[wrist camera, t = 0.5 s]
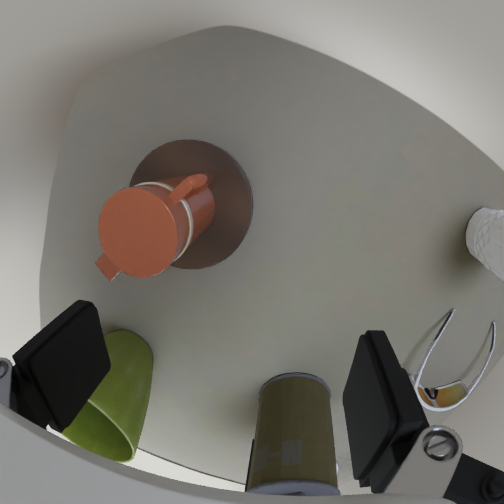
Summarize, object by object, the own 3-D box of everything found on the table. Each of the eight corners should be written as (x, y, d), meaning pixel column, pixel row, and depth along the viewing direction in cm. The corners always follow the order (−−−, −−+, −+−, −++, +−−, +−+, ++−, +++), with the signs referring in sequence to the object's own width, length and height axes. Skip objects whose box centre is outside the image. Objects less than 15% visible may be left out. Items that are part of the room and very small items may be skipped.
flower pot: (94, 366, 42) (46, 428, 27) (86, 293, 37) (14, 354, 22) (174, 397, 41) (139, 476, 26) (180, 325, 36) (128, 415, 21)
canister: (312, 361, 36) (320, 498, 17) (340, 404, 38) (353, 520, 19) (243, 387, 39) (216, 510, 20) (277, 425, 41) (267, 534, 22)
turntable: (165, 119, 28) (160, 117, 27) (278, 181, 29) (278, 182, 28) (117, 226, 33) (111, 229, 32) (214, 286, 34) (211, 291, 33)
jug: (200, 146, 28) (153, 143, 17) (245, 196, 29) (222, 220, 18) (135, 213, 31) (74, 242, 20) (174, 259, 32) (128, 306, 21)
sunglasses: (391, 389, 36) (402, 409, 31) (436, 299, 33) (454, 312, 29) (452, 395, 36) (465, 412, 31) (494, 317, 33) (511, 329, 28)
